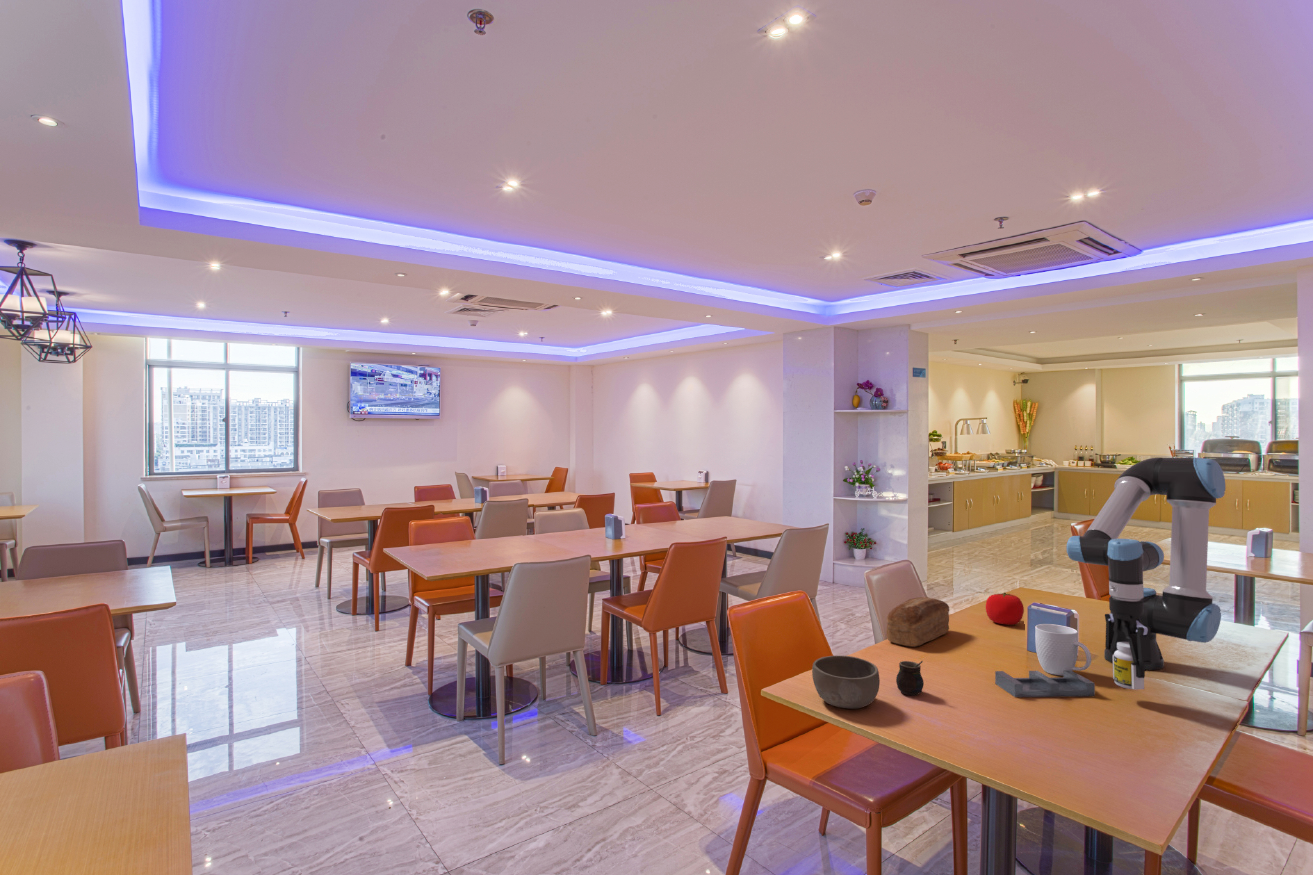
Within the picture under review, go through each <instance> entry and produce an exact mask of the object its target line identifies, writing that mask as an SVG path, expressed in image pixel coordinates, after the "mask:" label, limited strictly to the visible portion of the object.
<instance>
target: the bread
mask: <svg viewBox="0 0 1313 875" xmlns="http://www.w3.org/2000/svg"><path fill="white" fill-rule="evenodd" d="M949 613H950V606H949V605H948V603H947V602H945V601H943V600H940V599H936V598H934V597H933V598H932V597H928V596H927V597H926V596H925V597H914V598H909V599H908V600H905V601H904V602H902V603H900V604H899V605H897V606H896V607H894V608H893V609H891V611H889V612H888V614H887V616H886V638H887V639H886V640H888V642H890V643H893V644H897V645H900V646H905V647H920V646H922V645H923V644H925V643H927V642H930V641H933V640H935V639H937V638H939V637H940V636H943V635H946V634H947V632H948V631H949V630H950V627H949V624H950V614H949Z"/></svg>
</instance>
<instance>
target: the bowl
mask: <svg viewBox="0 0 1313 875" xmlns="http://www.w3.org/2000/svg"><path fill="white" fill-rule="evenodd" d="M811 668H812V669H811V671H812V672H811V673H812V674H811V676H812V681H813V685H814V687H815V691H816V692H817V694H818V696H819V697H820V698H821V699H822V701H824V702H825V703H826V704H829V705H830V706H833V707H836V708H841V709H848V710H850V709H861V708H864V707H867V706H869V705H870V704H871V703H873V702H874V700H875V699H876V697H877V695H878V693H879V689H880V683H881V682H880V681H881V680H880V679H881V678H880V672H879V668H878V667H877V666H876V664H874V663H873V662H871V661H869V660H866V659H863V658H859V657H855V656H850V655H829V656H821V657H820V658H817V659H816V660H814V662H813V663H812V667H811Z"/></svg>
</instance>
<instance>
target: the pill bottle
mask: <svg viewBox="0 0 1313 875" xmlns="http://www.w3.org/2000/svg"><path fill="white" fill-rule="evenodd" d="M1117 649H1118V650H1117V651H1115V652H1114V679H1113V680H1114V684H1116V685H1117V686H1118V687H1120V688H1123V689H1128V690H1133V689H1132V673H1131V663H1134V661H1133V657H1132V653H1131V649H1130V645H1129V642H1118V643H1117ZM1138 660H1139V659H1138Z"/></svg>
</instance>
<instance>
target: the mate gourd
mask: <svg viewBox="0 0 1313 875" xmlns="http://www.w3.org/2000/svg"><path fill="white" fill-rule="evenodd" d="M923 662H924V660H921V661H920V662H919V663H917V662H915V661H909V660H904V661H903V660H902V661H900V662H899V663H898V664H899V665H898V667H899V670H898V672H897V675H896V679H895V683H896V686H897V689H898V690H899V692H901V694H903V695H906V696H910V697H911V696H914V697H915V696H918V695H919V694H920V693H922V691H923V689H924V685H925V684H924V683H925V682H924V679H923V676H922V673H921V670H922V669H921V664H922V663H923Z"/></svg>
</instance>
